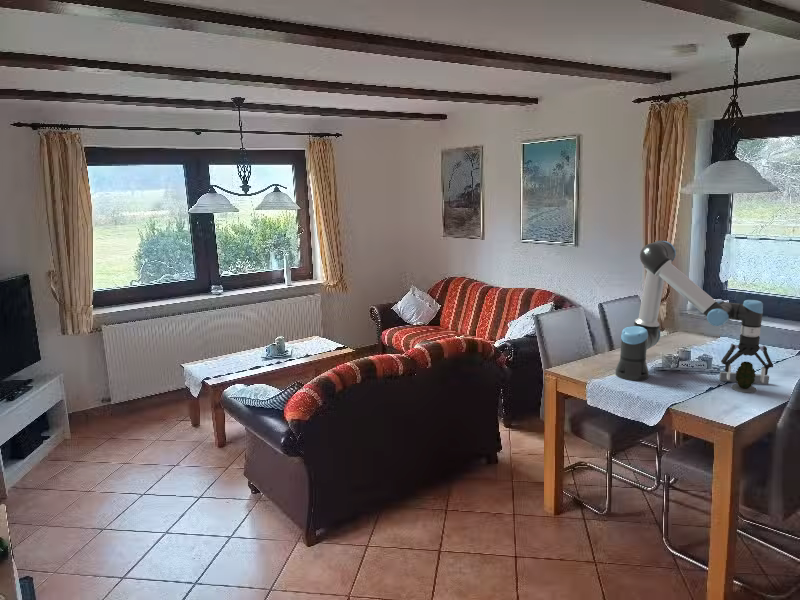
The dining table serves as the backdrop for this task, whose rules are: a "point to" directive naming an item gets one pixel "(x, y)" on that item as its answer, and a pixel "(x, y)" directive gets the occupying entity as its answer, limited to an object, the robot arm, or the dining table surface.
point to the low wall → (733, 379)
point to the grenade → (745, 375)
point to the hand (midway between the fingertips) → (744, 380)
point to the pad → (739, 389)
